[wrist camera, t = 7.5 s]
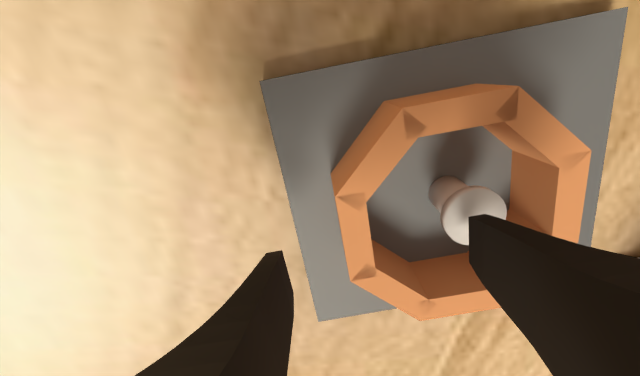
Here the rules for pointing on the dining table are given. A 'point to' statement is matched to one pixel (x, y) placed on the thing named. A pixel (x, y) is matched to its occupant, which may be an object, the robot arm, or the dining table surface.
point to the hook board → (434, 142)
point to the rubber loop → (525, 189)
